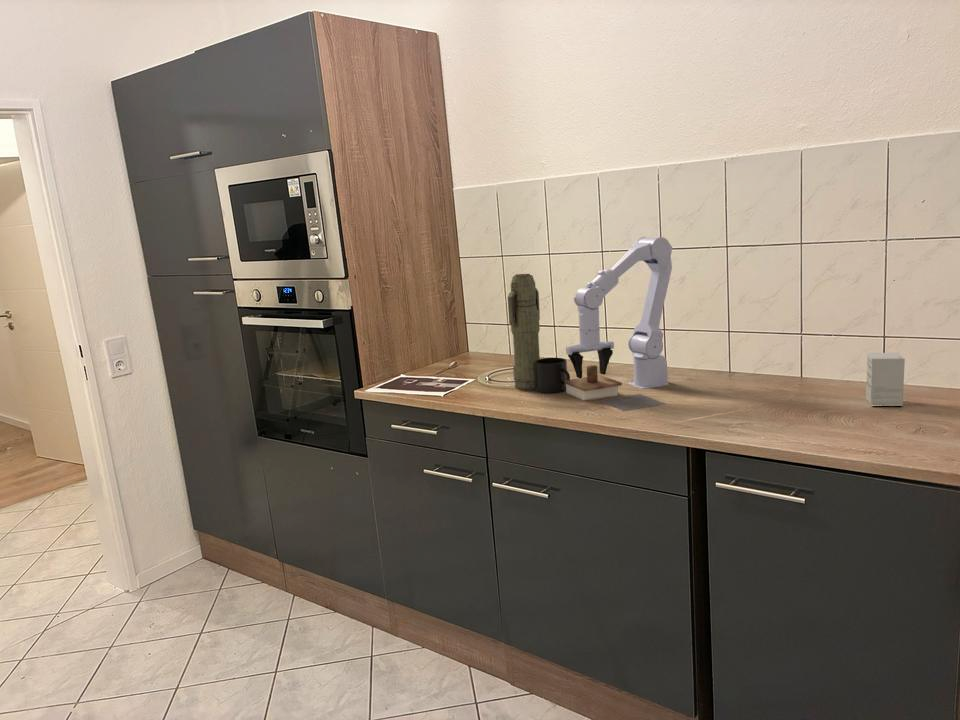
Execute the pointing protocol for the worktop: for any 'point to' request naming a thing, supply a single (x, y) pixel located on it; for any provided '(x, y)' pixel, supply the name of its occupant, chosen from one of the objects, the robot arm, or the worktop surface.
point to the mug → (551, 375)
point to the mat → (632, 402)
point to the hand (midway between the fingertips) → (591, 375)
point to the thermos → (524, 329)
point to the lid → (592, 381)
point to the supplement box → (885, 379)
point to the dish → (592, 393)
